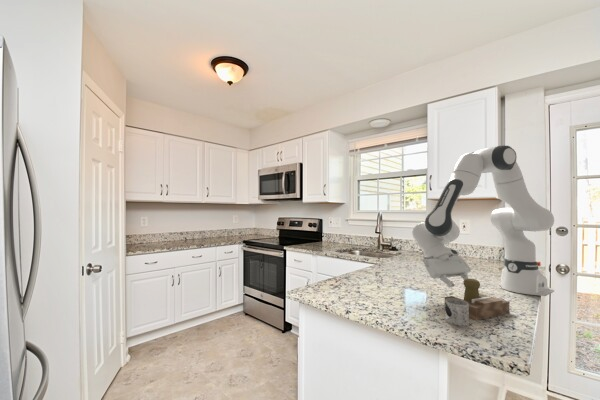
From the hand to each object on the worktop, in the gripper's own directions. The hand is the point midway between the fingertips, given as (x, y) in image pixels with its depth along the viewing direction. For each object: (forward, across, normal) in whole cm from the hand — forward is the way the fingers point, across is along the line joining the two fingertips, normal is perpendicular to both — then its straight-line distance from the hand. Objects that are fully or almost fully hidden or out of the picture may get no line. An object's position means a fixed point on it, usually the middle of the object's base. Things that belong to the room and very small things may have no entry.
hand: (460, 285), depth 105 cm
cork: (+9, 0, +2) cm, 9 cm away
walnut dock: (+10, 0, +1) cm, 10 cm away
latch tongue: (+11, 0, -1) cm, 11 cm away
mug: (+14, -18, -3) cm, 23 cm away
